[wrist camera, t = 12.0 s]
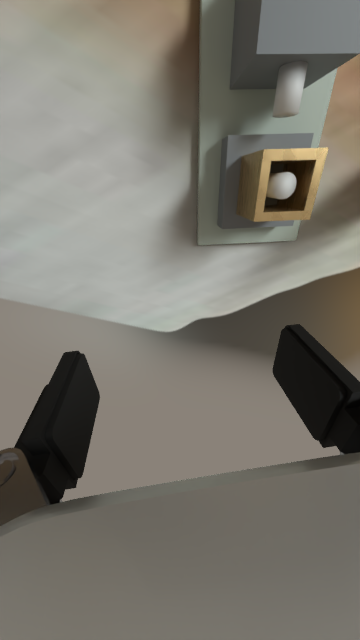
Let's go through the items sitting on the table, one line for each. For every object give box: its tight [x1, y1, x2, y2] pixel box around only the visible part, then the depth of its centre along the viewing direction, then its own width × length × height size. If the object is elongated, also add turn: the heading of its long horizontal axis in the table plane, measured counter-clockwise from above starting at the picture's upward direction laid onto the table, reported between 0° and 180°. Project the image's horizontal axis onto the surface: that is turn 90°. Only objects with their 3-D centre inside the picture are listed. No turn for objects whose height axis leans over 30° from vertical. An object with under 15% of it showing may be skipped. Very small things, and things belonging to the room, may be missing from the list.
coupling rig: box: [197, 0, 360, 245], centre depth 22 cm, size 14×23×9 cm, turn 2°
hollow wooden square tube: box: [236, 148, 328, 222], centre depth 23 cm, size 6×6×6 cm
